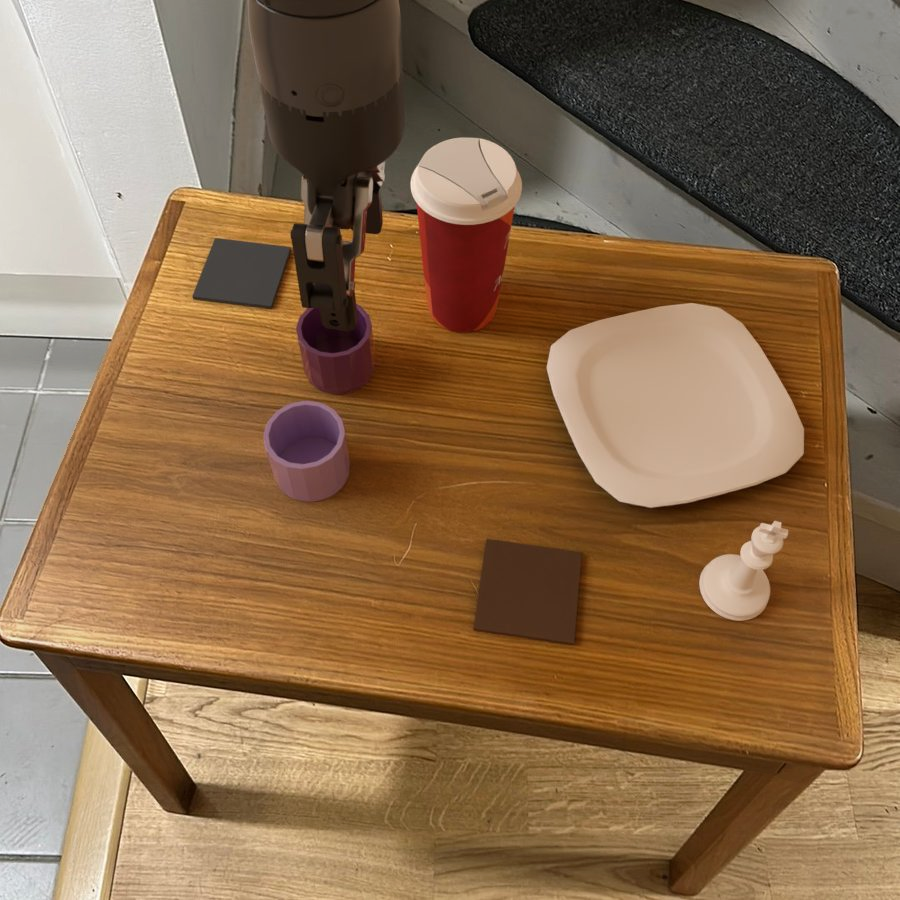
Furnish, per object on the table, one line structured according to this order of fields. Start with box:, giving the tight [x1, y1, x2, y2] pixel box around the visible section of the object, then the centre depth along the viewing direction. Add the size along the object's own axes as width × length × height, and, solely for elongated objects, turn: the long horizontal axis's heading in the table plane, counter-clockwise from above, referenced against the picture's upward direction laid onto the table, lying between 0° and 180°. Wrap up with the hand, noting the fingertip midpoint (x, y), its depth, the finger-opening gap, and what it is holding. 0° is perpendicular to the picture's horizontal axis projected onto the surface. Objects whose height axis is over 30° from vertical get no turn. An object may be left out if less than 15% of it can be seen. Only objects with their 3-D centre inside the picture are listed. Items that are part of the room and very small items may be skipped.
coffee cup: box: [410, 137, 523, 333], centre depth 73 cm, size 8×8×15 cm
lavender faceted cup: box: [262, 399, 351, 503], centre depth 69 cm, size 6×6×5 cm
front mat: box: [472, 538, 583, 646], centre depth 66 cm, size 7×7×1 cm
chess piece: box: [698, 520, 789, 622], centre depth 62 cm, size 5×5×10 cm
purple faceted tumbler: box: [295, 303, 376, 395], centre depth 74 cm, size 6×6×5 cm
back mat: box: [191, 237, 292, 310], centre depth 81 cm, size 7×7×1 cm
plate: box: [546, 302, 805, 510], centre depth 73 cm, size 18×18×2 cm
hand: (353, 276), depth 61 cm, fingers open, 8 cm apart
